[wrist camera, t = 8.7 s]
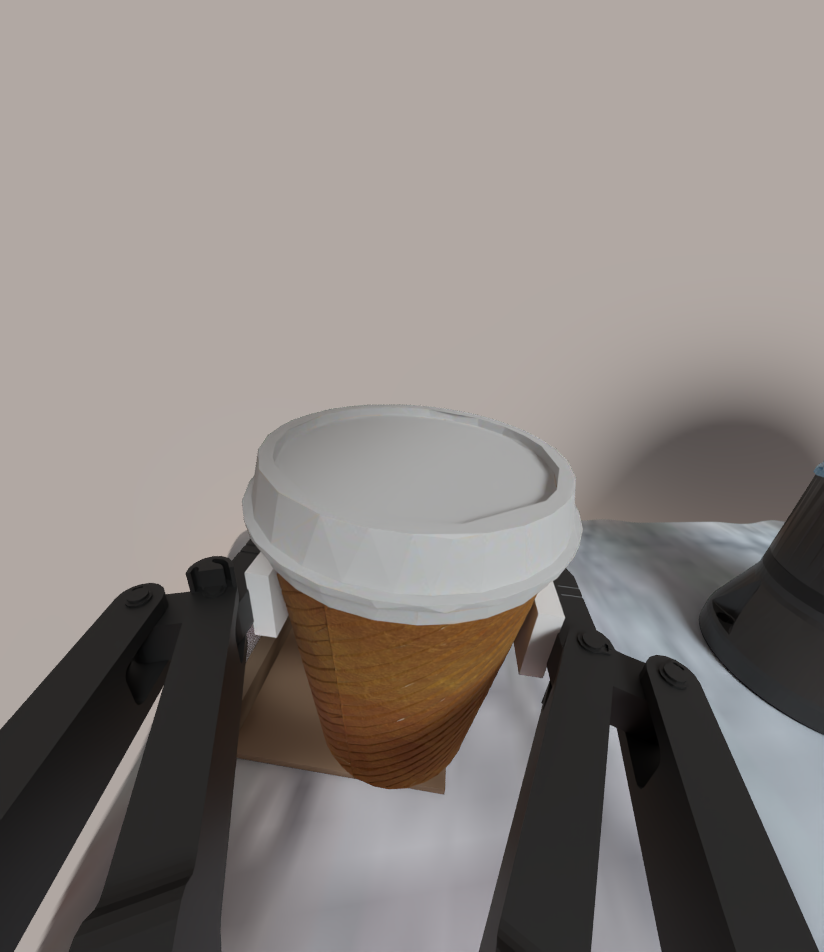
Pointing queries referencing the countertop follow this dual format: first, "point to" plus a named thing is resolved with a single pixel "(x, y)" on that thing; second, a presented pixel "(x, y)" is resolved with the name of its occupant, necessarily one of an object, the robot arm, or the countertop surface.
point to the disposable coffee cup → (407, 568)
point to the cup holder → (288, 713)
